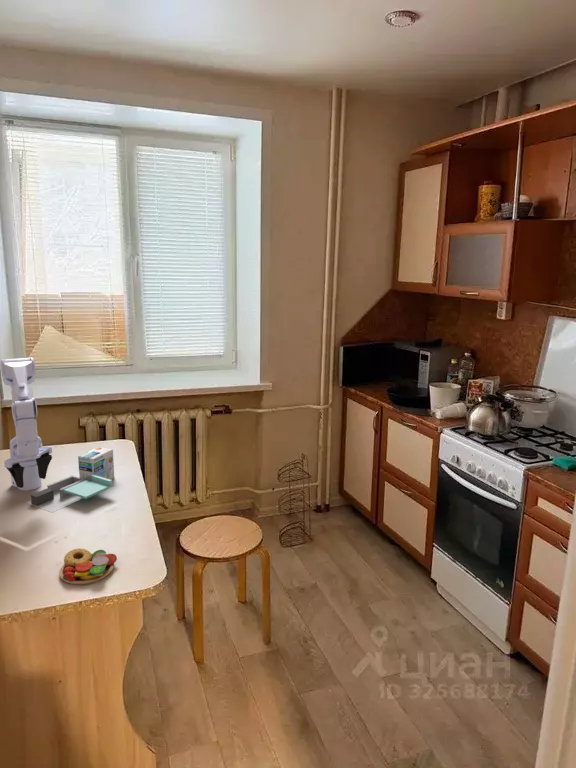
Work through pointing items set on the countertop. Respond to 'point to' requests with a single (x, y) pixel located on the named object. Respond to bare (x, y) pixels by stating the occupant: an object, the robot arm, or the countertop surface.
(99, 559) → the toy food set
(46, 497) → the grey rectangular prism
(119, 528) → the countertop surface
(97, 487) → the cover
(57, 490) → the board
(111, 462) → the light bulb box
